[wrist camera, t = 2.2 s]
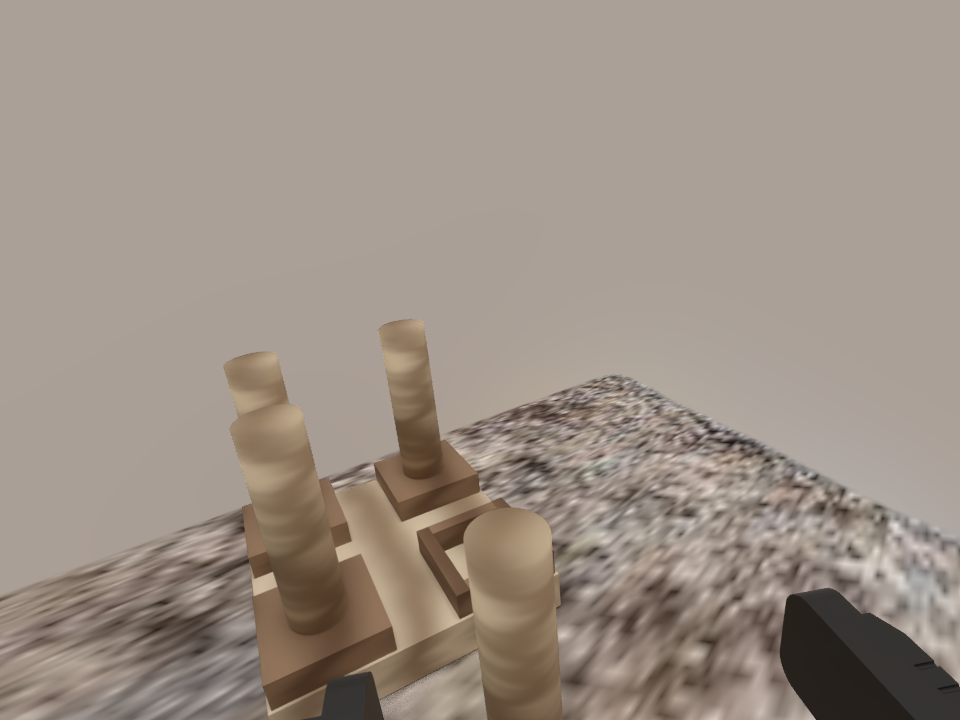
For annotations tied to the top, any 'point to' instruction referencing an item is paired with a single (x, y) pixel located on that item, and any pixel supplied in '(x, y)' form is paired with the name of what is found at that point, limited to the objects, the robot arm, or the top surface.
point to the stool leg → (515, 613)
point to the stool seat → (354, 539)
